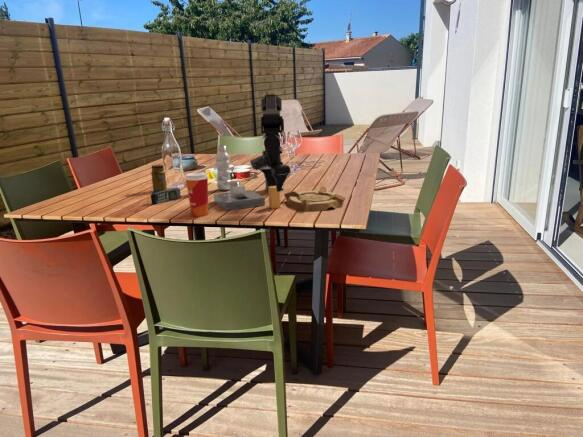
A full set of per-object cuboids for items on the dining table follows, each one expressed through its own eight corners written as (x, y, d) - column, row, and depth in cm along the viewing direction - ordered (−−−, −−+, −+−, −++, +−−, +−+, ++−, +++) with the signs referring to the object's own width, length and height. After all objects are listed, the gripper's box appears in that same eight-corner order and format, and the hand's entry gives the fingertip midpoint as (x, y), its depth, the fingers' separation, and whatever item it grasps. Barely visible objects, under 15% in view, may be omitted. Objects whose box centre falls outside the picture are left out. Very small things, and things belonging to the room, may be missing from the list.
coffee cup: (190, 212, 163) (186, 172, 159) (212, 211, 164) (209, 171, 160) (186, 218, 155) (182, 176, 151) (210, 217, 156) (206, 175, 152)
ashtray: (285, 197, 184) (285, 186, 182) (341, 196, 183) (342, 185, 181) (282, 212, 161) (282, 199, 160) (347, 211, 160) (347, 198, 159)
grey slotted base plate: (251, 196, 185) (250, 178, 183) (265, 205, 171) (264, 185, 169) (214, 201, 178) (212, 182, 176) (225, 210, 164) (224, 189, 162)
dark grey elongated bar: (153, 194, 174) (183, 186, 185) (148, 193, 175) (178, 185, 187) (154, 206, 175) (184, 197, 186) (150, 205, 177) (180, 196, 188)
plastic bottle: (229, 191, 195) (226, 146, 190) (215, 191, 197) (211, 146, 191) (234, 188, 201) (231, 145, 196) (220, 188, 203) (217, 145, 197)
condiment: (167, 189, 204) (164, 163, 201) (169, 192, 196) (166, 166, 193) (151, 190, 202) (148, 164, 198) (152, 194, 194) (149, 167, 191)
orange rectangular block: (276, 206, 169) (276, 185, 167) (280, 207, 166) (279, 187, 164) (269, 207, 168) (268, 186, 166) (272, 208, 165) (271, 188, 163)
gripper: (243, 146, 166) (245, 187, 170) (261, 152, 150) (263, 196, 154) (270, 144, 170) (272, 184, 175) (290, 150, 154) (291, 193, 158)
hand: (273, 189), depth 165 cm, fingers open, 9 cm apart
